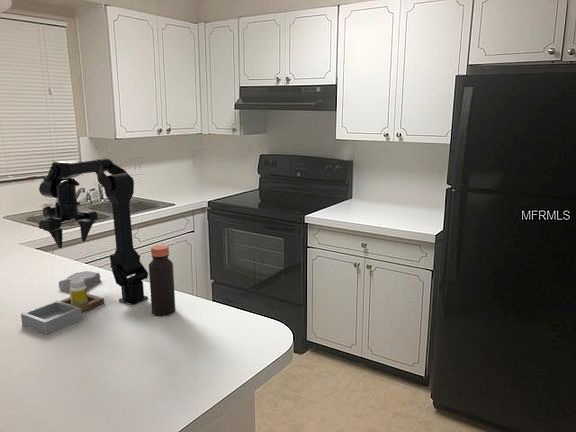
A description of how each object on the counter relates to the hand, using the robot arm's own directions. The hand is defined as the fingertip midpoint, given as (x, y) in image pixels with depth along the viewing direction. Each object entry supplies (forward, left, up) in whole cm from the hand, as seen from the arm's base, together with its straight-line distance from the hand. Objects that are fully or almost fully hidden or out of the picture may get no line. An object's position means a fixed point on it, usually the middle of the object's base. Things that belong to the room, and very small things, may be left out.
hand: (72, 244), depth 160 cm
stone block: (-1, -1, -15) cm, 15 cm away
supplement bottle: (-17, +12, -15) cm, 25 cm away
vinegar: (-42, +2, -15) cm, 45 cm away
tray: (-20, +23, -14) cm, 34 cm away
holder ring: (-17, +12, -14) cm, 25 cm away
